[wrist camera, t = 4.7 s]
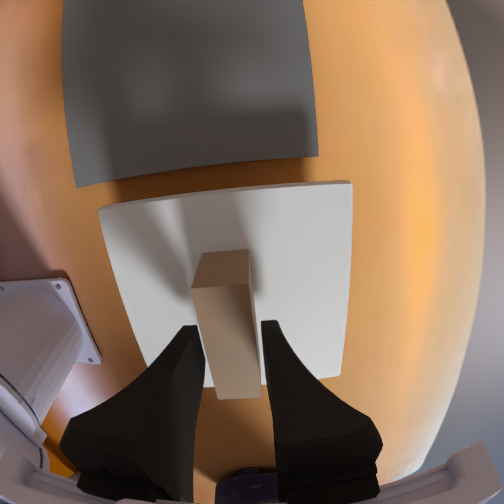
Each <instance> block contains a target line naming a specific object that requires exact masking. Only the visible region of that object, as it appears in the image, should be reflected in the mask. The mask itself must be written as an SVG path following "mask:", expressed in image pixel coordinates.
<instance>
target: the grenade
mask: <svg viewBox="0 0 504 504" xmlns="http://www.w3.org/2000/svg"><path fill="white" fill-rule="evenodd" d="M273 503H279V499H278V486H277V473H259V470H258V469H257V468H254V467H252V468H245V469H240V470H238V471H237V476H235V477H232V478H228V479H225V480H223V481H221V482H219V483H218V484H217V485H216V490H215V504H273Z"/></svg>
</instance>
